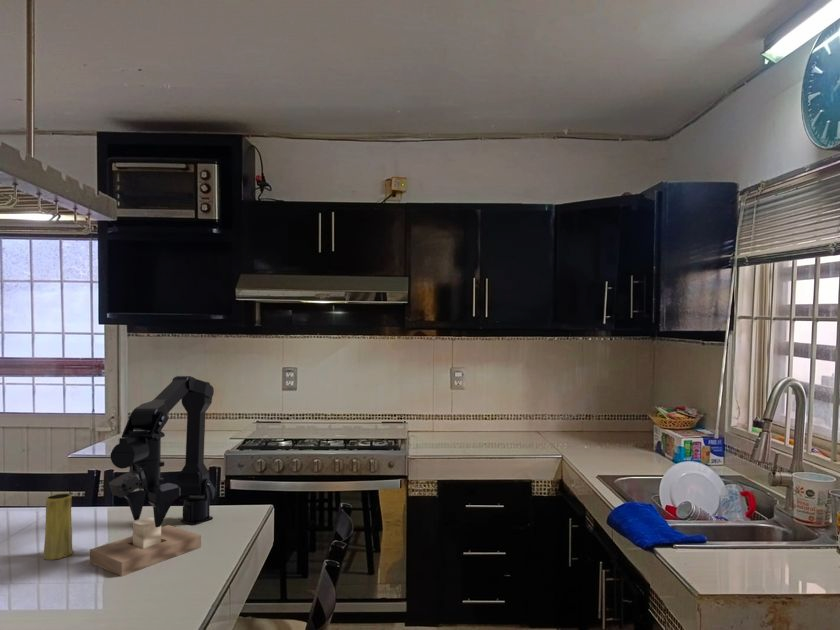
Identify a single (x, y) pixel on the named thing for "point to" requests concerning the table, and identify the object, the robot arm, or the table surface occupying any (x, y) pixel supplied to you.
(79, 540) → the table surface
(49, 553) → the vase
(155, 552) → the board
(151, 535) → the peg
